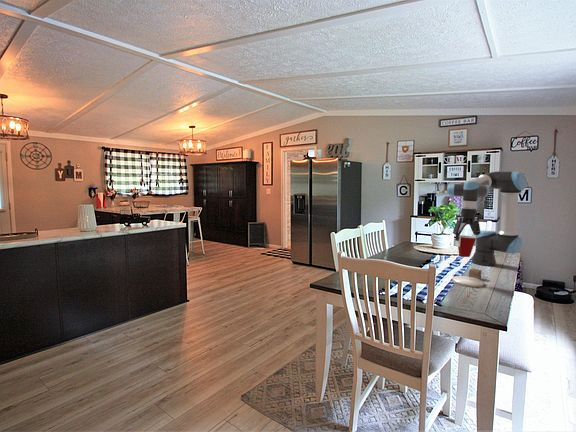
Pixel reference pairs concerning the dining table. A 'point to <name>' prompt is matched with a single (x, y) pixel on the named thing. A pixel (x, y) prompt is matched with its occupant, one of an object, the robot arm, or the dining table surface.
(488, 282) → the dining table surface
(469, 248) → the plastic cup
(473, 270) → the walnut block
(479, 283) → the disc
